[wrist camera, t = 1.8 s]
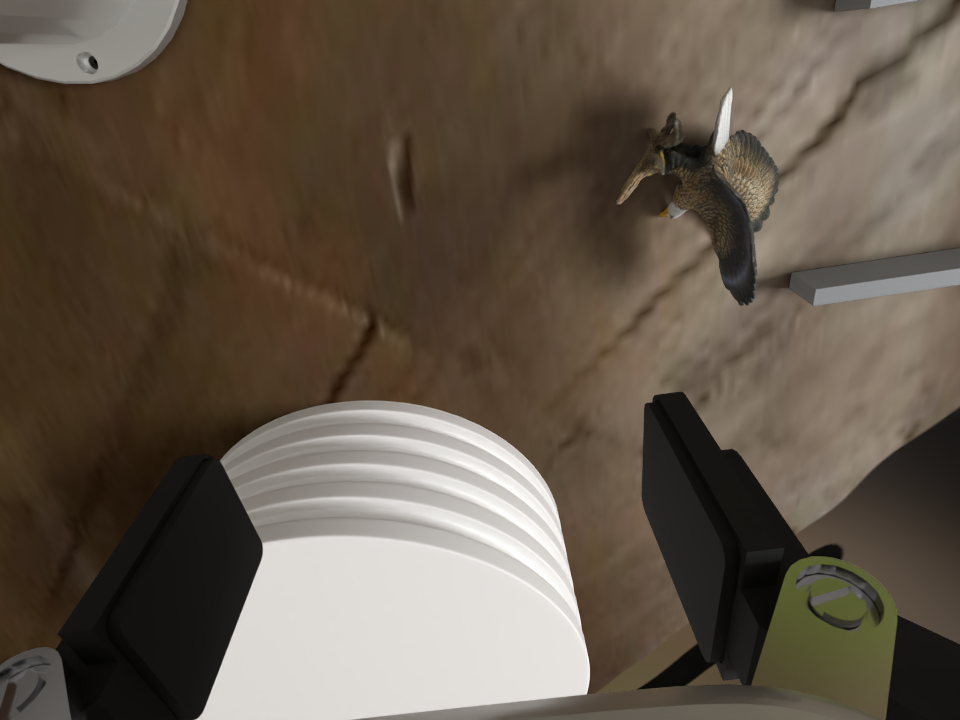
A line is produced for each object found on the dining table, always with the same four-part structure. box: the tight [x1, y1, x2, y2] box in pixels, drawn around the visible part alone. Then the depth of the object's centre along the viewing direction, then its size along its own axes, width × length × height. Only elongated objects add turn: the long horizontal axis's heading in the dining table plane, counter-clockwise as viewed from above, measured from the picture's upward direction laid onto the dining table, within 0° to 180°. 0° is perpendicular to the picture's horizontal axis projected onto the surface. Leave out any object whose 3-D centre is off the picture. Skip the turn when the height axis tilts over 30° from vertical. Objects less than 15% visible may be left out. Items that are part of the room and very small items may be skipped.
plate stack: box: [195, 401, 590, 720], centre depth 37 cm, size 28×28×12 cm
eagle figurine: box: [615, 88, 779, 306], centre depth 26 cm, size 8×7×9 cm
